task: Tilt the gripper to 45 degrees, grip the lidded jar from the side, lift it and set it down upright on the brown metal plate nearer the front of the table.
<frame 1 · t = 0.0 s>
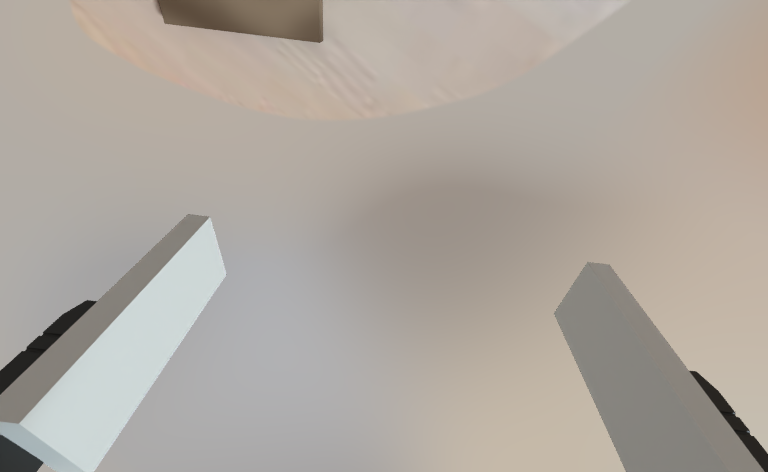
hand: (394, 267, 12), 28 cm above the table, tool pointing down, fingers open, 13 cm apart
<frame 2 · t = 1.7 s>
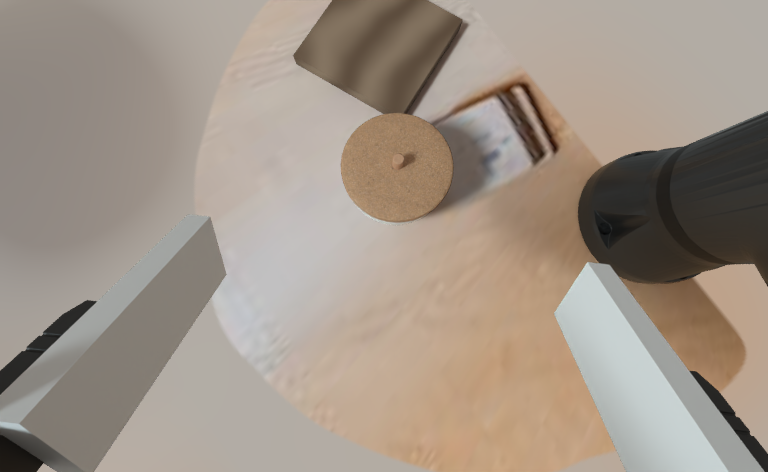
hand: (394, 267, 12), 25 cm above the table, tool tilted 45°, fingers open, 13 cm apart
lidded jar: (393, 189, 38), on the table
brown metal plate: (379, 46, 40), on the table
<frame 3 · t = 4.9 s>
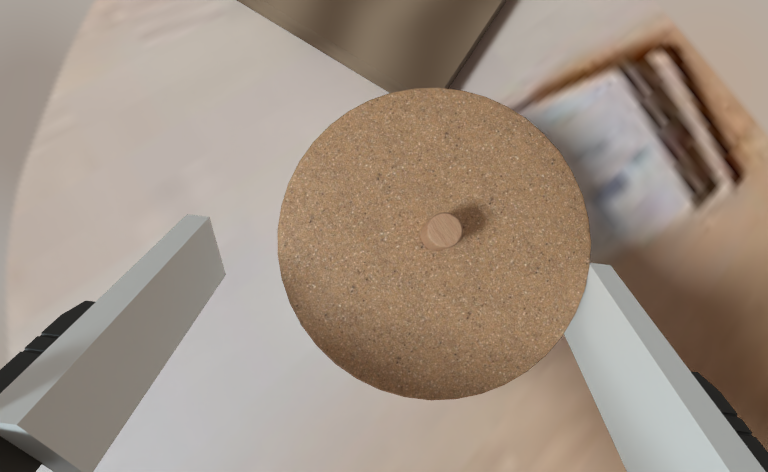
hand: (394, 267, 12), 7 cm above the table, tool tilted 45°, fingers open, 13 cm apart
lidded jar: (412, 249, 18), on the table, touching gripper
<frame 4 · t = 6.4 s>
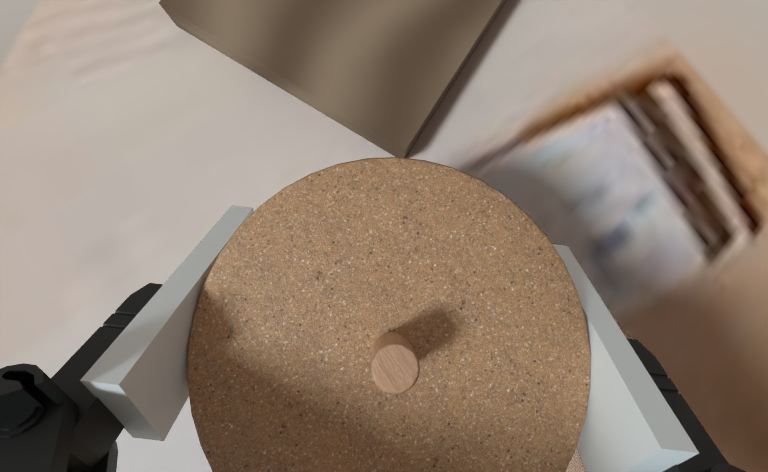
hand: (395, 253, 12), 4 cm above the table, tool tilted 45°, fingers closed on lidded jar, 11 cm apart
lidded jar: (384, 316, 16), on the table, touching gripper
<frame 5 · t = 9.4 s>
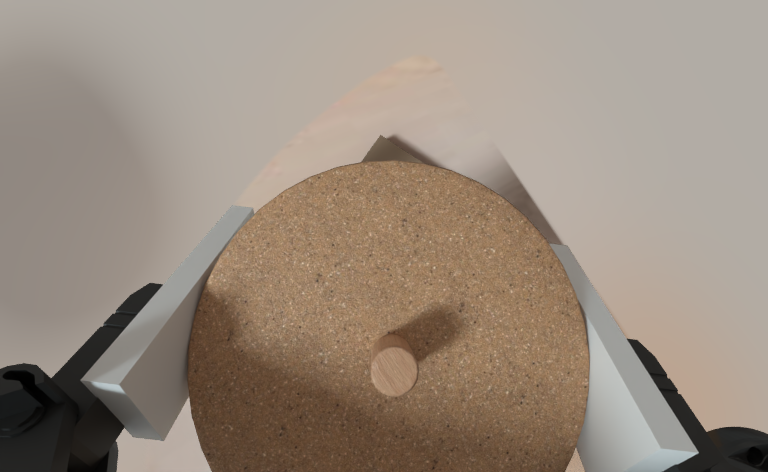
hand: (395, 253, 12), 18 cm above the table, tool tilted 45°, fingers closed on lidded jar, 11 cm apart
lidded jar: (384, 317, 16), point 13 cm above the table, touching gripper
brown metal plate: (401, 246, 30), on the table
when the fingers open (7 cm above the table, at t = 12.5 s): lidded jar stays where it is, resting on brown metal plate.
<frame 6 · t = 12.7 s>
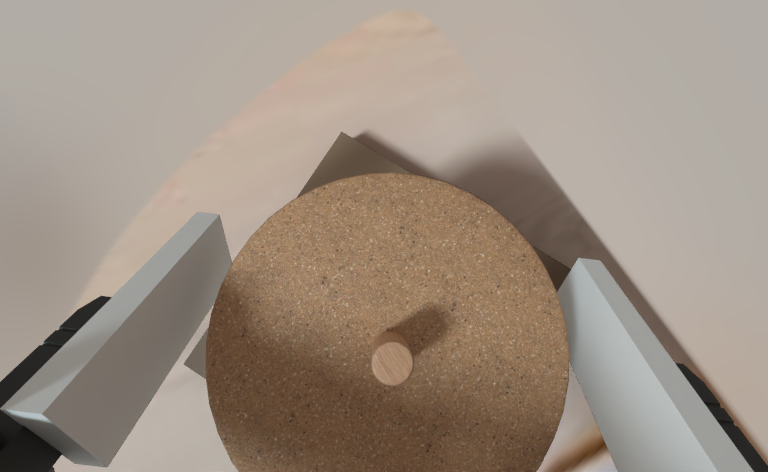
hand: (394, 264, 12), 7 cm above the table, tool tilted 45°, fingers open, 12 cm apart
lidded jar: (383, 316, 17), point 1 cm above the table, touching brown metal plate
brown metal plate: (383, 312, 18), on the table
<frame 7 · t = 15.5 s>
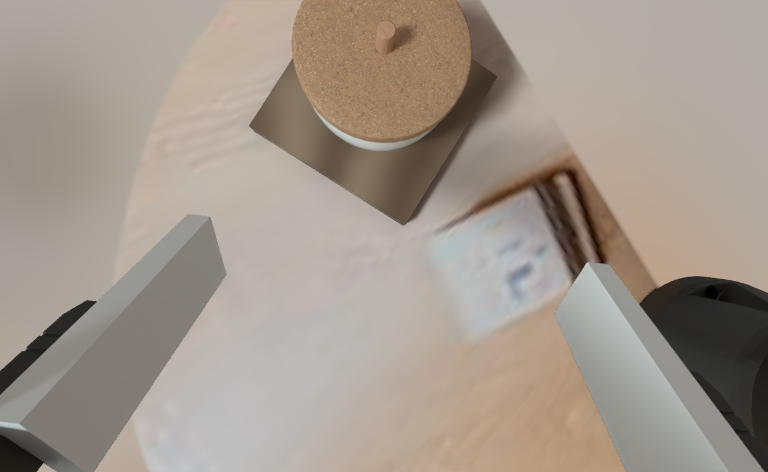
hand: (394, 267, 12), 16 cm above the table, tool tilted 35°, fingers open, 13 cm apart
lidded jar: (376, 102, 26), point 1 cm above the table, touching brown metal plate
brown metal plate: (375, 107, 28), on the table
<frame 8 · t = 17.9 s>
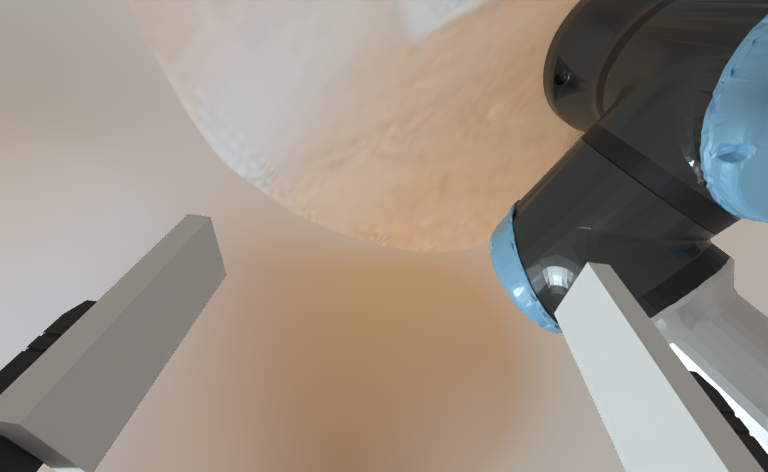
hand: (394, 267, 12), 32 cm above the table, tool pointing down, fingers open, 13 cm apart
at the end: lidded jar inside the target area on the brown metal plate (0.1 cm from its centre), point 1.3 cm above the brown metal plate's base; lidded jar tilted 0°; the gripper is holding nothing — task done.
